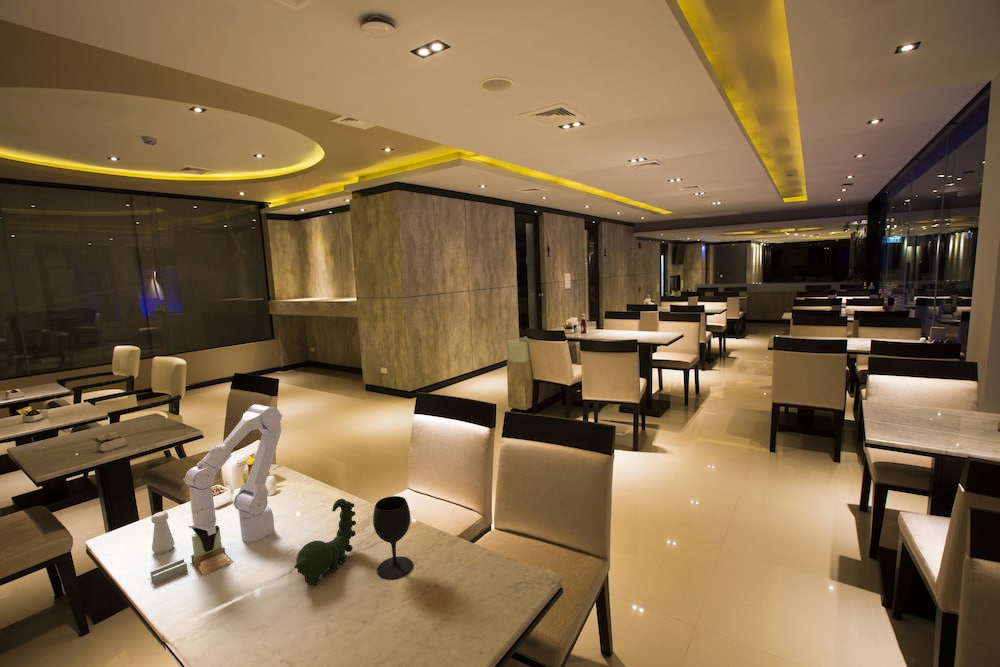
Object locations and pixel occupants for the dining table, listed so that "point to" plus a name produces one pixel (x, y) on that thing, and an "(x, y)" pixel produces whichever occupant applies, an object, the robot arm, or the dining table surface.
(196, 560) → the walnut rack
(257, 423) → the robot arm
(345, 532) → the toy figurine
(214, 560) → the upper pine offcut
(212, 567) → the lower pine offcut
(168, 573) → the slate stand
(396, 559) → the wine glass
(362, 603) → the dining table surface
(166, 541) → the salt shaker
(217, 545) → the sage sheet
